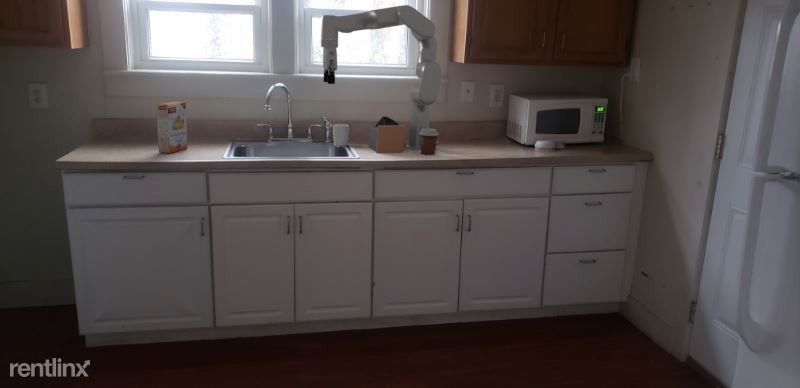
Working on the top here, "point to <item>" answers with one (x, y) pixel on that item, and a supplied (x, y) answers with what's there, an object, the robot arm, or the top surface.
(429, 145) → the coffee cup
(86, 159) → the top surface
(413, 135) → the robot arm
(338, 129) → the white cup
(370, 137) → the case
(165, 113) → the cracker box
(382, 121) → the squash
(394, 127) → the side door
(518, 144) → the top surface
